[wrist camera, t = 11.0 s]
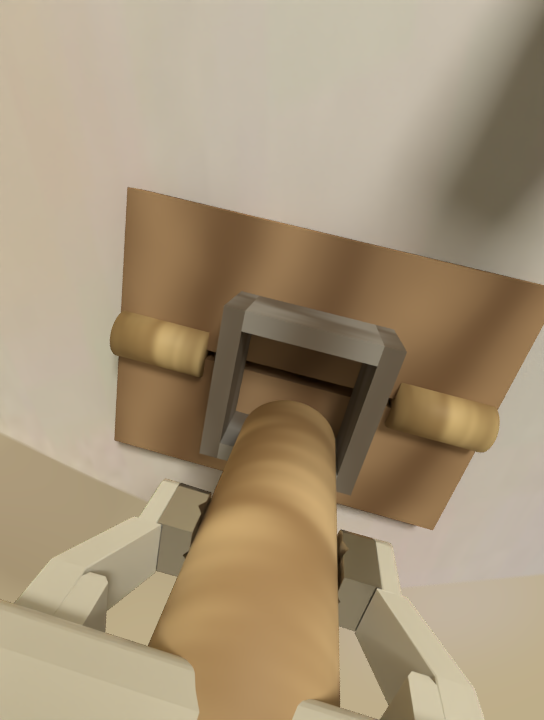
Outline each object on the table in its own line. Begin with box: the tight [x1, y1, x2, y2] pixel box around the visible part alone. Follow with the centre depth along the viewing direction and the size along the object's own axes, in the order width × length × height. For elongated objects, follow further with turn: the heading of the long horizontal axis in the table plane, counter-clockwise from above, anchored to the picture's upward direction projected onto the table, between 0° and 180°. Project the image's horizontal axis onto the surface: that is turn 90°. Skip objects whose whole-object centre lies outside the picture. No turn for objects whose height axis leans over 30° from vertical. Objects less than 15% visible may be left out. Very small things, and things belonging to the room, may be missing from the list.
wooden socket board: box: [110, 187, 544, 530], centre depth 20 cm, size 22×16×5 cm
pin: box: [148, 400, 340, 720], centre depth 10 cm, size 4×4×12 cm
